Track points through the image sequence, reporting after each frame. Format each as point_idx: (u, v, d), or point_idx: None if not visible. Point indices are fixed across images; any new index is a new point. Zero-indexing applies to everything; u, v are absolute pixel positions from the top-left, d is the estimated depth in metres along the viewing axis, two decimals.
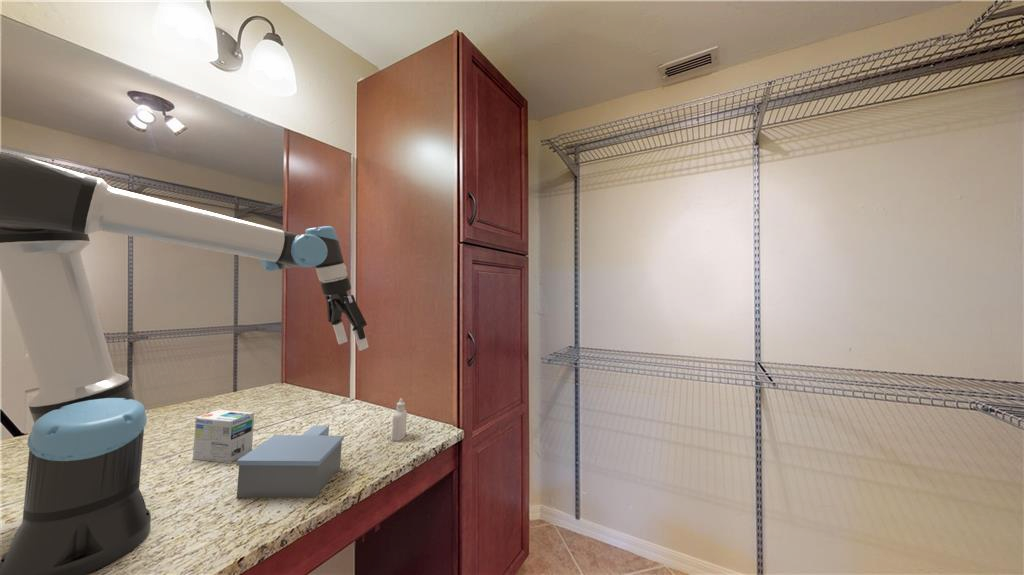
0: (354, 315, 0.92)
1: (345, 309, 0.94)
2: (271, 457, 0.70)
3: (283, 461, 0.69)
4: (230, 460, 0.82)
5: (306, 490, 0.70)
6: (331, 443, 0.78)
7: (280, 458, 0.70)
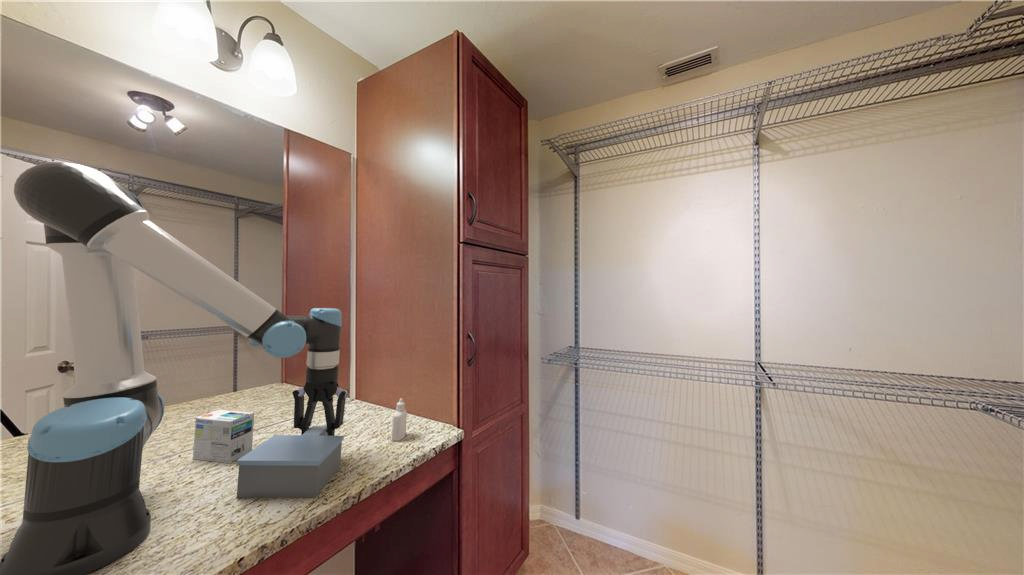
0: (340, 414, 0.86)
1: (328, 404, 0.86)
2: (271, 457, 0.70)
3: (283, 461, 0.69)
4: (230, 460, 0.82)
5: (306, 490, 0.70)
6: (331, 443, 0.78)
7: (280, 458, 0.70)
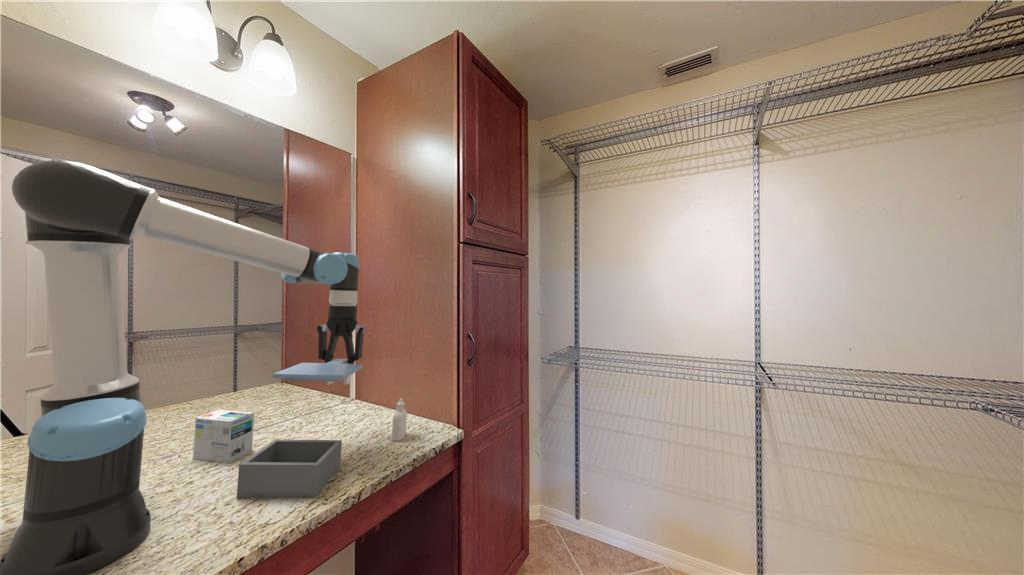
0: (359, 347, 0.96)
1: (349, 338, 0.96)
2: (301, 373, 0.80)
3: (312, 375, 0.79)
4: (230, 460, 0.82)
5: (306, 490, 0.70)
6: (352, 367, 0.88)
7: (309, 373, 0.80)
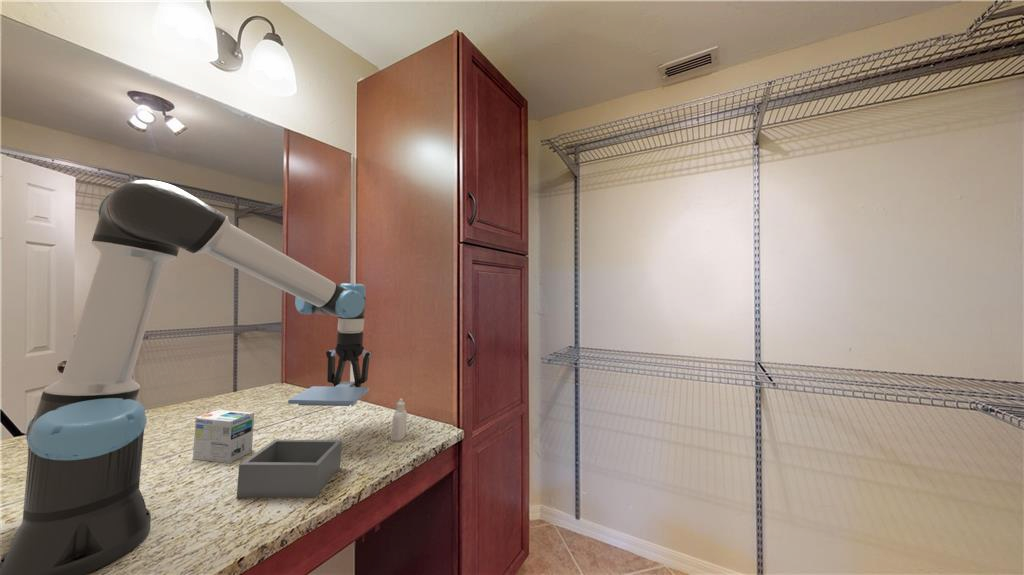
0: (366, 371, 1.03)
1: (356, 362, 1.03)
2: (314, 398, 0.88)
3: (325, 401, 0.87)
4: (230, 460, 0.82)
5: (306, 490, 0.70)
6: (360, 391, 0.95)
7: (322, 399, 0.88)
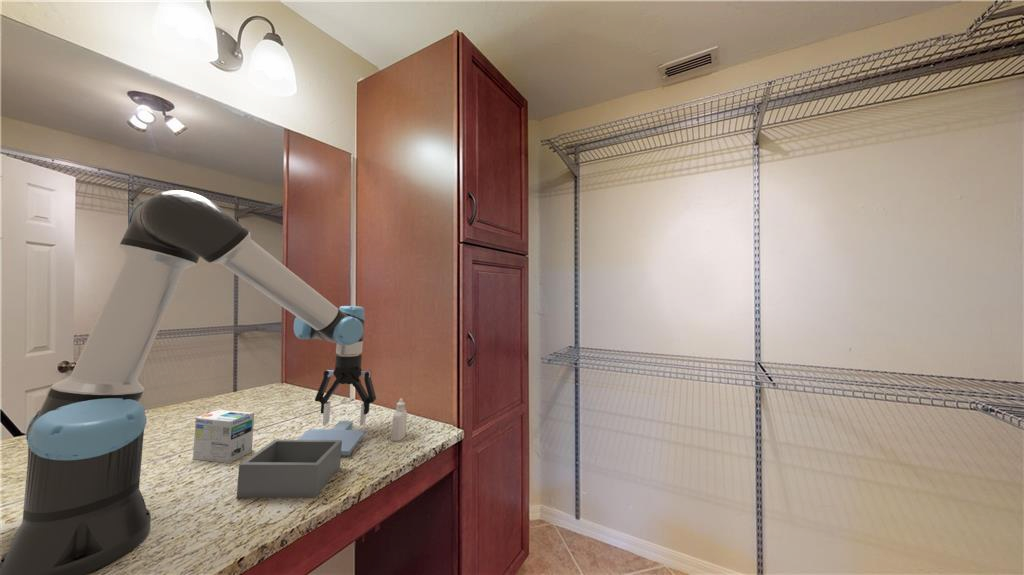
0: (371, 390, 1.03)
1: (358, 384, 1.03)
2: None
3: None
4: (230, 460, 0.82)
5: (306, 490, 0.70)
6: (356, 436, 0.95)
7: None
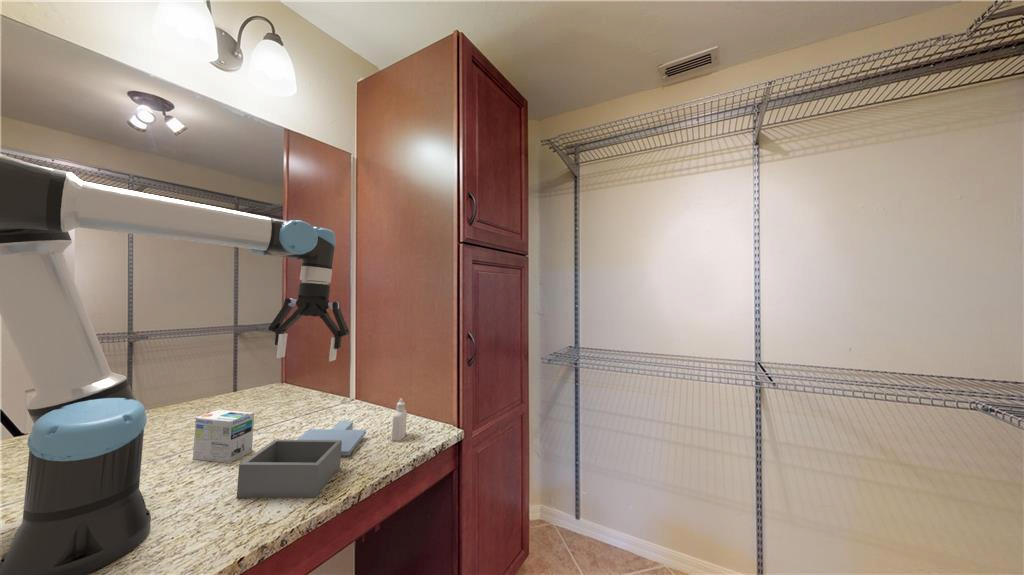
0: (342, 321, 0.91)
1: (325, 315, 0.90)
2: None
3: None
4: (230, 460, 0.82)
5: (306, 490, 0.70)
6: (356, 436, 0.95)
7: None
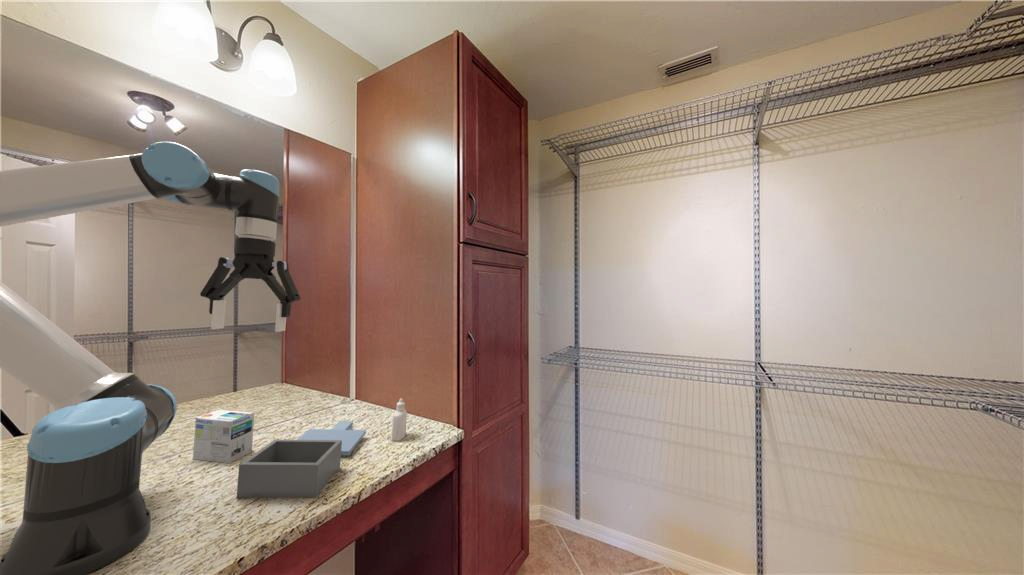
0: (289, 284, 0.75)
1: (269, 277, 0.75)
2: None
3: None
4: (230, 460, 0.82)
5: (306, 490, 0.70)
6: (356, 436, 0.95)
7: None
